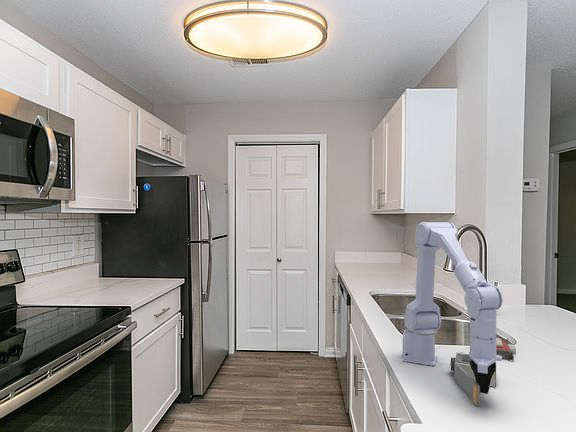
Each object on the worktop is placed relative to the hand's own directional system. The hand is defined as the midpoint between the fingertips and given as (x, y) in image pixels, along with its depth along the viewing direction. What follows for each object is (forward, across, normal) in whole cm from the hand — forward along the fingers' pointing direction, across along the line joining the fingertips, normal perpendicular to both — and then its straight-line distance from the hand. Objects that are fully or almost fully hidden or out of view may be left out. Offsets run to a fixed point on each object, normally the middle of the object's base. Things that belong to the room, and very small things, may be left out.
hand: (482, 392), depth 94 cm
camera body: (+2, +14, +2) cm, 15 cm away
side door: (+2, +3, +4) cm, 6 cm away
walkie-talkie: (+3, +43, -5) cm, 44 cm away
